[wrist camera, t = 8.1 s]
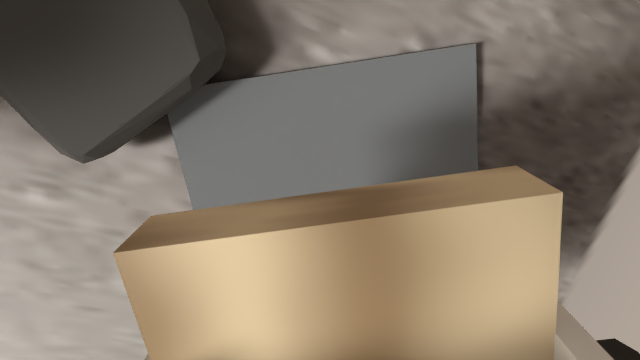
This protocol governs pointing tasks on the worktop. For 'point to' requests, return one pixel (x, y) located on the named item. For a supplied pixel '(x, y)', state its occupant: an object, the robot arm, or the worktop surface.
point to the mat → (329, 127)
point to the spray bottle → (103, 66)
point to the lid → (355, 273)
